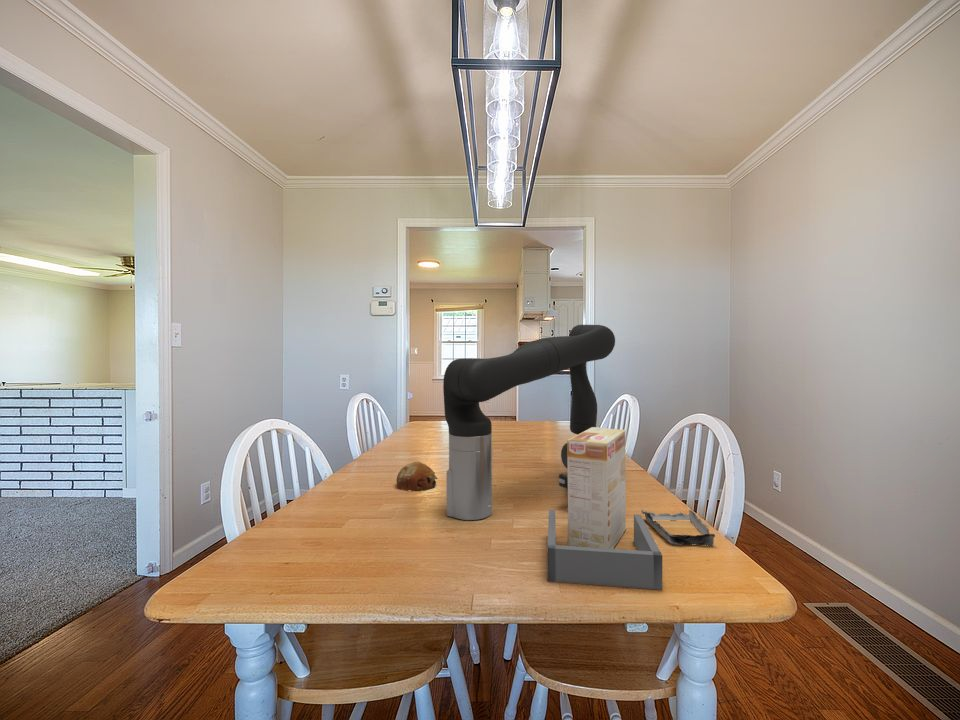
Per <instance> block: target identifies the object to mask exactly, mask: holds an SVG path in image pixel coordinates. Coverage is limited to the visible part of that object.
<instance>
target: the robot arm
mask: <svg viewBox="0 0 960 720" xmlns="http://www.w3.org/2000/svg"><path fill="white" fill-rule="evenodd" d="M615 346H616V336H615V334H614V332H613V330H611V329H610V328H609V327H608V326H605V325H601V324H577V325H574V326H573V327H572V329H570V332H569V334H568V335H566V336H565V335H563V336H560V335H559V336H550V337H543V338H542V337H541V338H538V339H534V340H532V341H529V342H525V343H523V344H521V345H520V346H519V347H517V348H516V349H515V350H514V351H513V352H512V353H509V354H505V355H501V356H496V357H490V358H481V357H479V358H473V357H471V358H470V357H469V358H466V357H465V358H456V359H454V360H452V361H451V362H450V363H449V364H448V365H447V367H446V369H445V371H444V376H443V381H442V383H443V387H442V388H443V389H442V390H443V391H442V393H443V405H444V407H443V408H444V417H445V421H446V423H447V426H448V469H447V470H446V475H445V476H446V517H452V518H454V519H458V520H464V521H472V520H473V521H476V520H482V519H486V518H488V517H490V516H491V515H492V513H493V447H492V444H493V441H492V437H493V436H492V432H493V431H492V430H493V429H492V427H493V426H492V421H491V419H490V418H489V417H487V415H485V414H484V412H483V411H482V409H481V407H480V403H485V402H487V401H489V400H492V399H494V398H496V397H497V396H500V395H502V394H503V393H505V392H507V391H509V390H511V389H513V388H515V387H517V386H520V385H525V384H529V383H532V382H535V381H538V380H541V379H544V378H547V377H550V376H552V375H555V374H557V373H561V372H562V371H566V370H568V369H569V377H570V378H569V379H570V387H571V388H570V389H571V407H570V421H569V431H570V432H571V433H572V434H574V435H578V434H580V433H582V432H584V431H586V430H588V429H589V428H591V427H597V421H598V419H597V418H598V402H597V397H596V395H595V392H594V389H593V387H592V386H591V382H590V380H589V375H588V371H587V363H588V362H593V361H594V362H595V361H599V360H603V359H605V358H607V357H608V356H610V355H611V353H613V350H614V348H615ZM560 457H561V458H560V459H561V463H562V464H563V466H564V467H565V469H567V442H566V443H565V444H563V446H562V448H561V451H560ZM558 486H559V487H562V488H563V489H567V490H568V474H564V473H559V474H558Z"/></svg>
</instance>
